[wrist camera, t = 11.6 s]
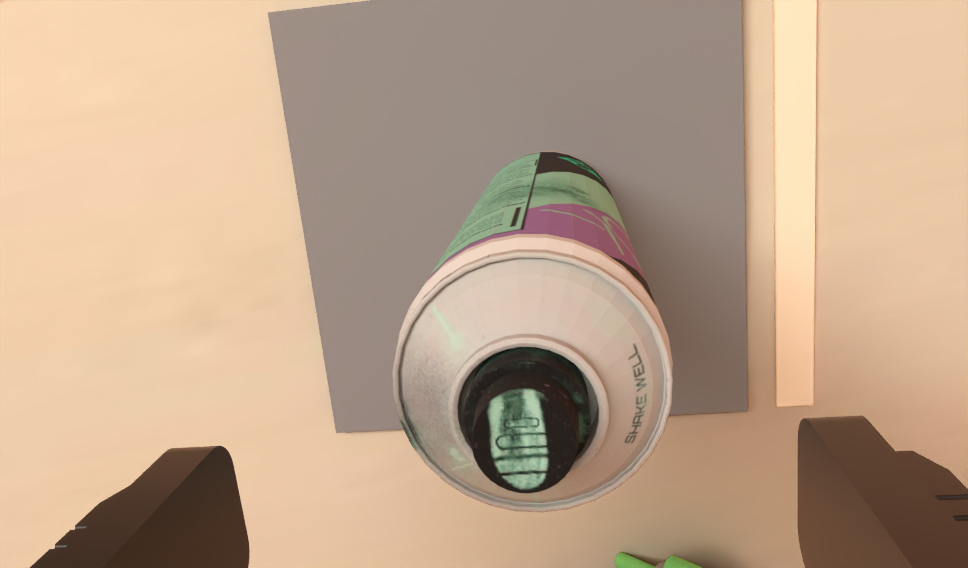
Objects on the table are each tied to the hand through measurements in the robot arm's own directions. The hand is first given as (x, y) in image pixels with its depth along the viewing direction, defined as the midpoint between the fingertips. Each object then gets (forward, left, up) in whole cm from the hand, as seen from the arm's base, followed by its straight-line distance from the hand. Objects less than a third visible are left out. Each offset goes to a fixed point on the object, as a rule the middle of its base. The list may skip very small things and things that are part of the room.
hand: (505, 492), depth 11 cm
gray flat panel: (0, 0, -22) cm, 22 cm away
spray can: (0, 0, -22) cm, 22 cm away
